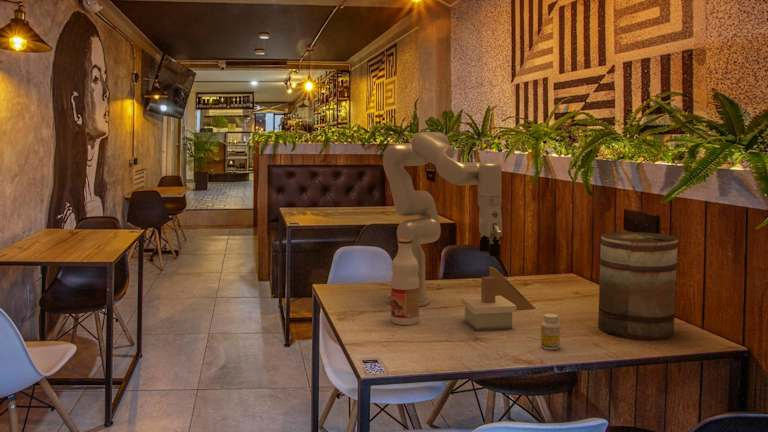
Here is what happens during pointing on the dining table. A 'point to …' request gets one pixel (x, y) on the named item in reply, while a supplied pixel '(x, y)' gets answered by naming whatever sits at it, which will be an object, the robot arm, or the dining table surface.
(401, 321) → the fruit juice
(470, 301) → the lid
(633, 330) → the barrel
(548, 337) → the supplement bottle
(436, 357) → the dining table surface
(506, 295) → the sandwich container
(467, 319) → the box
